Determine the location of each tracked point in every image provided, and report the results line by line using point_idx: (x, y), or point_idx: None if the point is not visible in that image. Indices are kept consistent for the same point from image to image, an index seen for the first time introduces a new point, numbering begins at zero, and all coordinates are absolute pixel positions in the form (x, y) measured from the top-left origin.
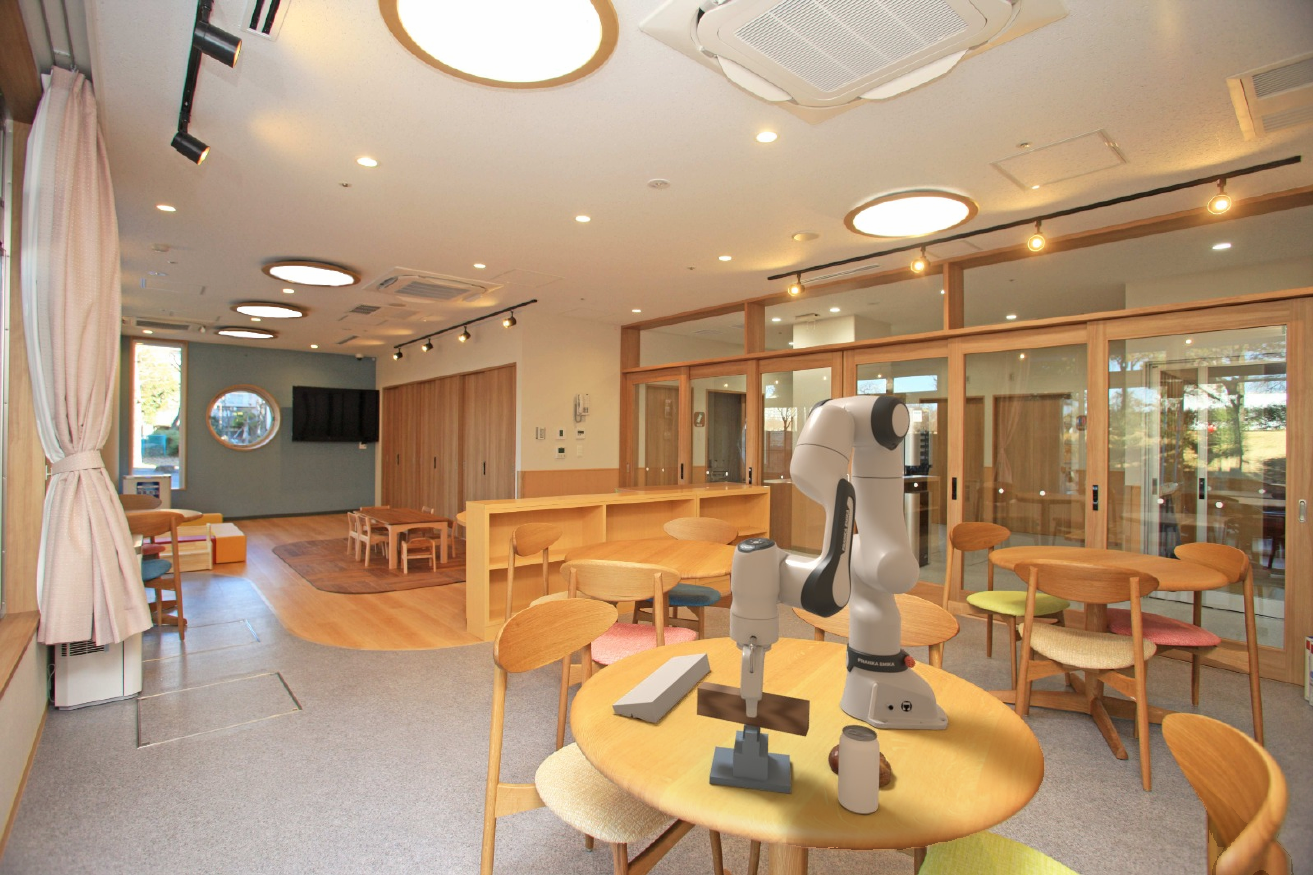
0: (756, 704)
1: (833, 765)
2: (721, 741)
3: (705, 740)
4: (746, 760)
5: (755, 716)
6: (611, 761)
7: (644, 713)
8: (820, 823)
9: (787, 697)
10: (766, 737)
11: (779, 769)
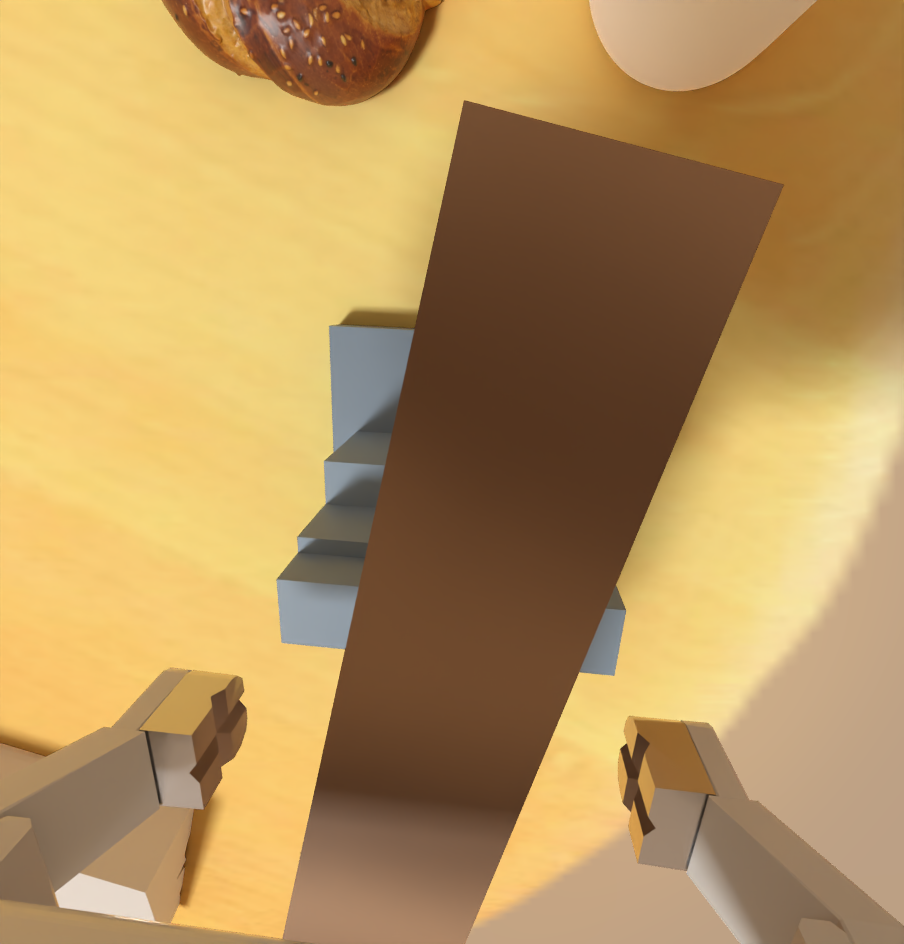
0: (810, 854)
1: (384, 75)
2: (251, 599)
3: (263, 654)
4: None
5: (710, 729)
6: None
7: (174, 857)
8: (859, 215)
9: (423, 457)
10: (370, 474)
11: None
